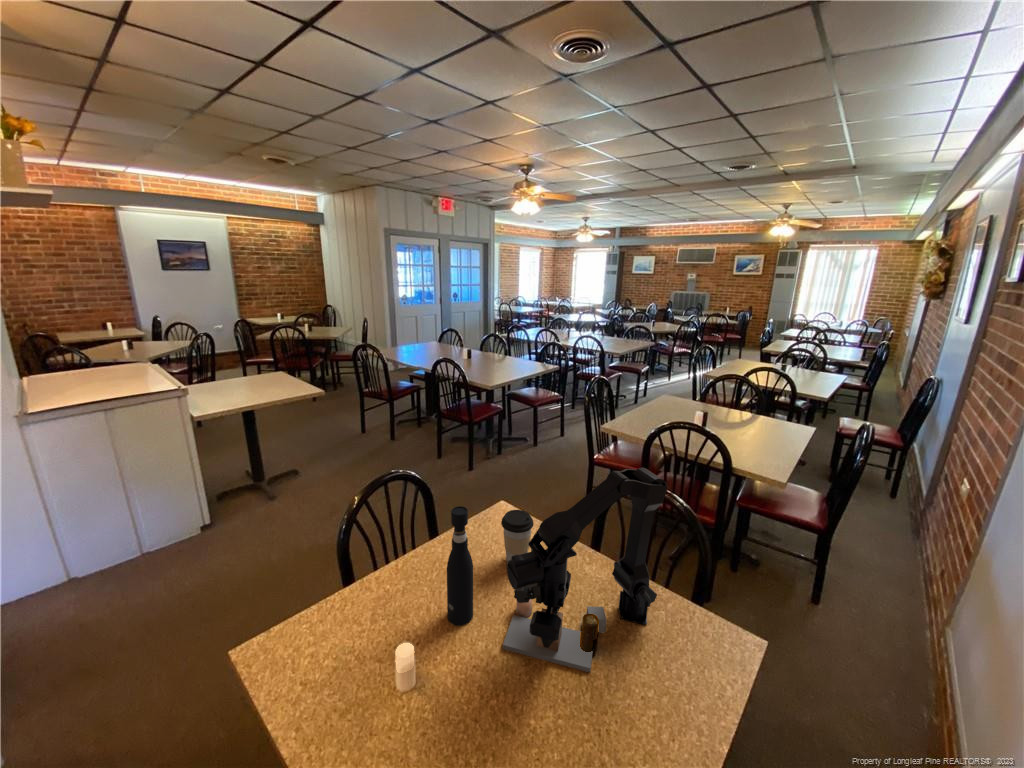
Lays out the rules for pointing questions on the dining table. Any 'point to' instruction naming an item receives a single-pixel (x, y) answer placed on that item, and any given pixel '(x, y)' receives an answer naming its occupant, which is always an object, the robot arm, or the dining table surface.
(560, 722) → the dining table surface
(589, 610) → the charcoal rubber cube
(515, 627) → the slate board
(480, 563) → the dining table surface
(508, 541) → the coffee cup
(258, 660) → the dining table surface
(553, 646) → the walnut block
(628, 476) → the robot arm
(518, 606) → the terracotta cylinder
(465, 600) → the black water bottle
